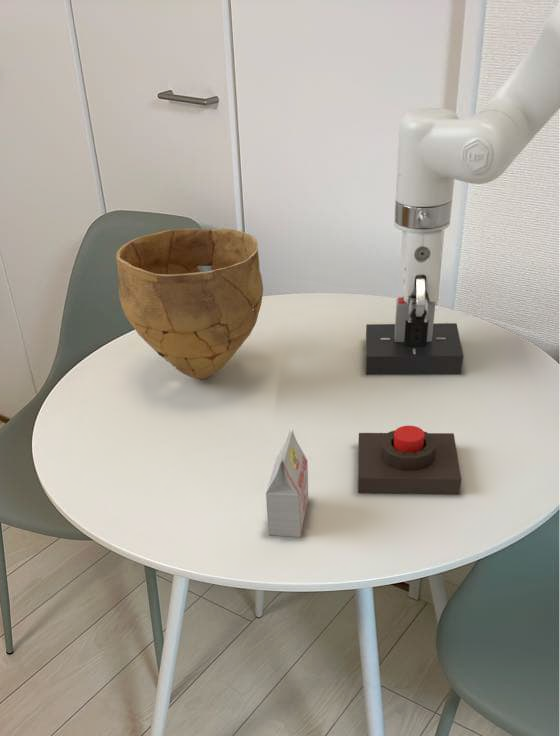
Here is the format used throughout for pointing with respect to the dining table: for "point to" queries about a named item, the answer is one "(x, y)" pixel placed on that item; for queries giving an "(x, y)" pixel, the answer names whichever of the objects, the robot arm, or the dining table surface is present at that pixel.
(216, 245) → the bowl
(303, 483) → the milk carton
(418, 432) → the power button
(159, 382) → the dining table surface
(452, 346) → the black flat block
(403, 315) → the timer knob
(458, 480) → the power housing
